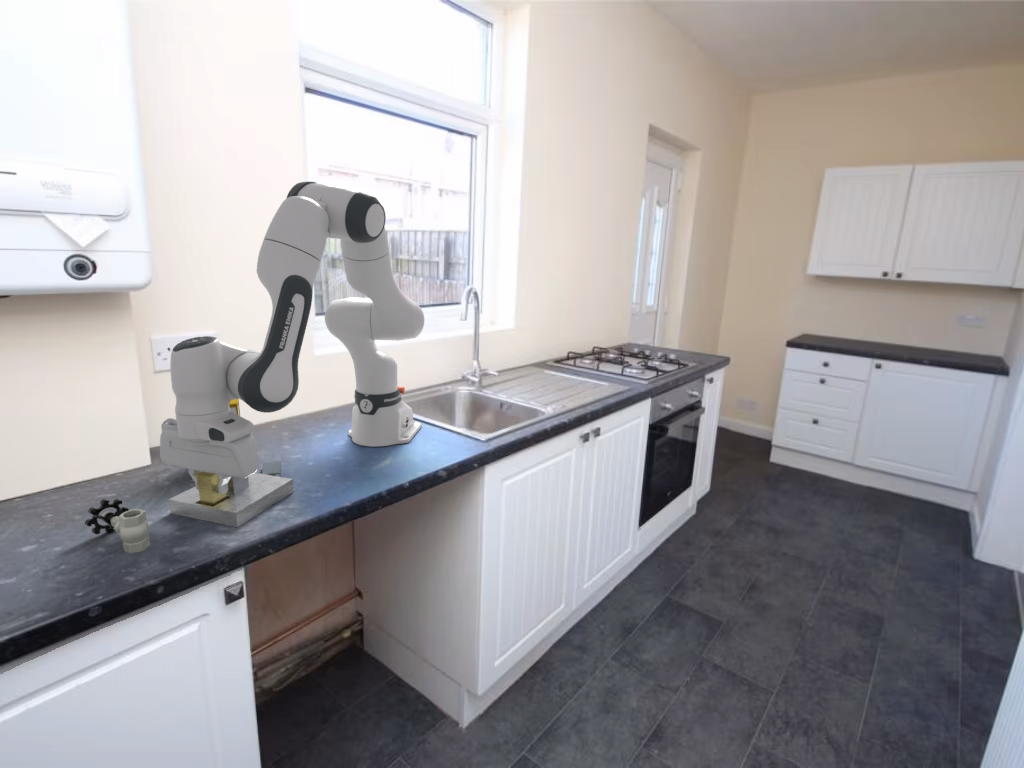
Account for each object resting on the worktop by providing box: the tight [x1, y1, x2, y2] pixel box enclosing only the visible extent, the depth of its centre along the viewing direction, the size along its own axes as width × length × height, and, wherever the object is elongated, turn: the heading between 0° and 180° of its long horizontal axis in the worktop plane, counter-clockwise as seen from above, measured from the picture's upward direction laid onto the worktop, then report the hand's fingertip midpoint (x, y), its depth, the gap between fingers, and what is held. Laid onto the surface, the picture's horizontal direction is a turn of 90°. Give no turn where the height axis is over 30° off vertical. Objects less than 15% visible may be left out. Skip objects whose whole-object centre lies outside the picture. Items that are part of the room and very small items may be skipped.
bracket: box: [261, 460, 282, 477], centre depth 122 cm, size 4×10×2 cm, turn 22°
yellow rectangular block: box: [197, 471, 227, 507], centre depth 103 cm, size 3×3×8 cm
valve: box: [84, 498, 151, 554], centre depth 93 cm, size 7×7×12 cm
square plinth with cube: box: [168, 472, 294, 528], centre depth 108 cm, size 16×16×8 cm
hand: (212, 490), depth 103 cm, fingers closed on yellow rectangular block, 3 cm apart
